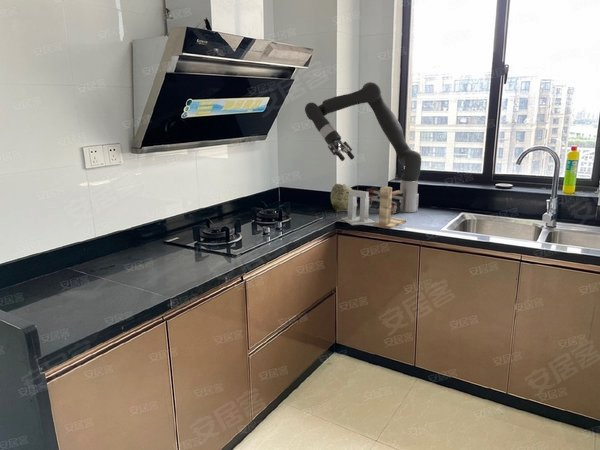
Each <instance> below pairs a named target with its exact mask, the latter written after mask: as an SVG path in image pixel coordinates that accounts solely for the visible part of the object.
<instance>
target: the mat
mask: <svg viewBox="0 0 600 450" xmlns="http://www.w3.org/2000/svg"><path fill="white" fill-rule="evenodd" d="M341 220H342V221H344V222H346V223H348V224H349V225H351V226H361V225H369V224H374V223H376V221H375V220H373V219H371V218H369V217H368V221H366V222H361V221H360V216H356V219H353V220H350V219H348V217H341Z"/></svg>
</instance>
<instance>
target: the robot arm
mask: <svg viewBox="0 0 600 450" xmlns="http://www.w3.org/2000/svg"><path fill="white" fill-rule="evenodd" d="M365 103H366V104H368V105H369V107H370V108H371V110H372V111H373V113H374V116H375V118H376V121H377V123H378V125H379V126H380V128H381V130H382V131H383V133H384V135H385V136H386V138H387V140H388V141H389V143H390V145H391V146H392V147H393V149H394V151H395V153H396V155H397V158H398V160H399V162H400V163H401V165H402V166H403V168H404V169H403V170H404V171H403V173H401V176H400V186H399V187H400V189H399V190H400V194H401V193H403V197H402V198H403V199H402V200H400V199H399V202H401V206H400V208H401V210H400V212H401V213H415V212H418V210H419V209H418V208H419V195H420V194H419V193H418V187H419V177H420V175H421V169H422V168H421V167H422V157H421V154H420V153H419V151H415V150H412V149H411V147H410V146H409V145H408V143H407V142H406V139H405V136H404V135H405V134H404V130H403V127H402V125H401V123H400V122H399V120H398V118H397V116H396V115H395V113H394V112H393V111H392V109H391V108H390V107H389V106H388V105H387V103H386V102H385V100H384V98H383V96H382V90H381V87H380V86H379V85H378V84H376V83H375V82H372V81H370V82H367V83H366V82H365V83H364V84H363V86H362V88H361V89H358V90H356V91H354V92H351V93H345V94H343V95H342V94H341V95H338V96H337V95H336V96H333V97H331V98H327V99H324V100H323V101H322V103H321V104H320V105H318V104H317V103H315V102H308V103H306V104H305V106H304V112H305V114H306V117H307V118H308V120H310V121H312V122H313V124H314V126H315V128H316V130H317V131H318V133H319V134H320V136H321V137H322V139H323V140H324V141H325V142H326V144H327V147H328V149H329V150H330V152H331V154H332V155H333V156H337V158H339V160H340V161H341V162H343V161H344V160H346V157H345V156H344V155H343V153H345V154H346V155H347V156H348V158H349V159H350V160H351V161H352V160H353V159H355V155H354V154H353V153H352V151H353V149H352V147H351V146H350V145H349V144H348V142H347V141H342V136H341V135H340V134H339V132H338V131H337V129H336V128H335V127H334V126H333V125H332V124H331V122H329V120H328V119H327V118H326V116H327V115H329V114H332V113H334V112H337V111H340V110H341V111H342V110H344V109H346V108H349V107H353V106H356V105H360V104H365Z"/></svg>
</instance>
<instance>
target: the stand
mask: <svg viewBox="0 0 600 450" xmlns="http://www.w3.org/2000/svg"><path fill="white" fill-rule="evenodd" d="M379 190H380V192H379V193H380V208H379V212H378V213H379V214H378V215H379V217H378V221H377V222H376V221H375V222H376V223H372V224H373V225H372V226H373V227H378V228H382V229H388V230H391V229H394V228H395V227H398V226H401V225H403V224H405V223H407V219H403V218H397V217H391V216H392V214H391V201H392V196H393V195H396V194H399V193H400V189H398V190H394V191H393V187H391V186H382V187H380V189H379Z"/></svg>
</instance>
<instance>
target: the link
mask: <svg viewBox="0 0 600 450" xmlns="http://www.w3.org/2000/svg"><path fill="white" fill-rule="evenodd" d="M358 198H360V199H359V200H360V201H359V217H360V221H361V222H366V221H368V218H369V213H370V212H369V210H370V209H369V192H365V190H364V191H363V190H357V189H352V190H349V196H348V211H347V218H348V219H350V220H353V219H356V217H357V208H356V203H357V204H358V202H357V200H358Z"/></svg>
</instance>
